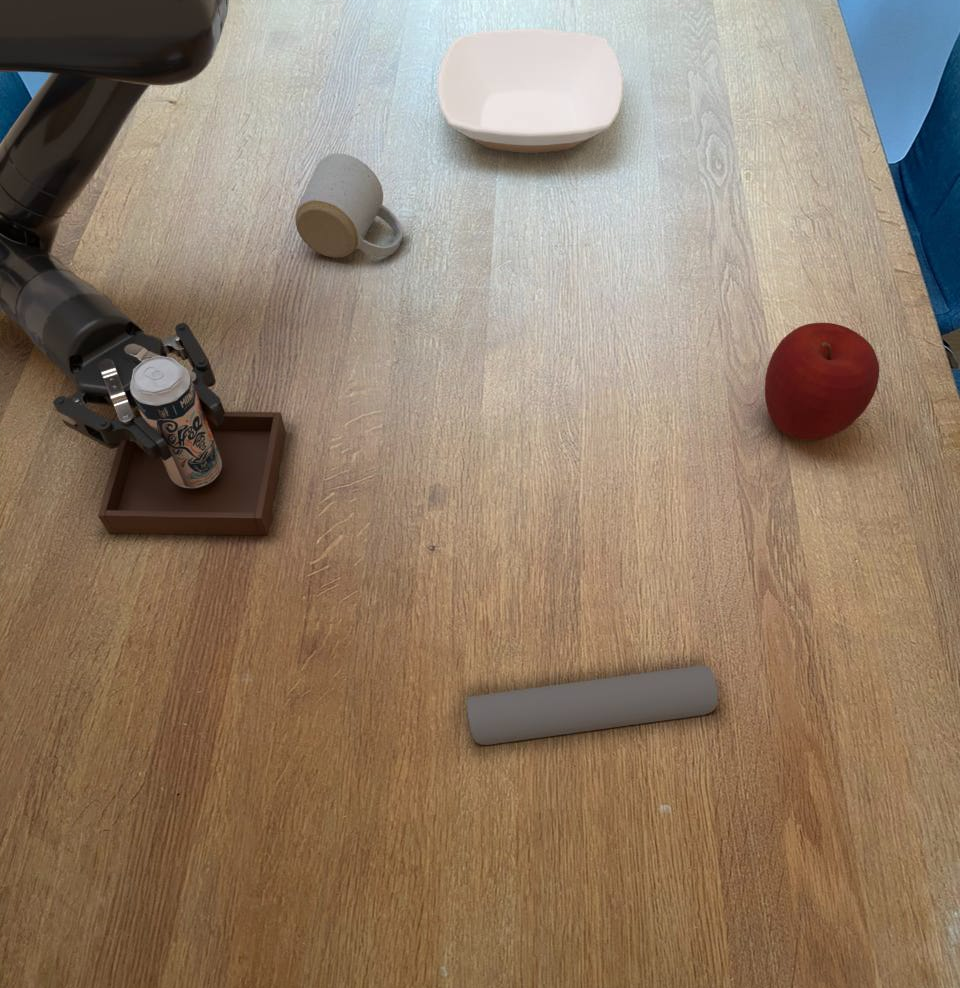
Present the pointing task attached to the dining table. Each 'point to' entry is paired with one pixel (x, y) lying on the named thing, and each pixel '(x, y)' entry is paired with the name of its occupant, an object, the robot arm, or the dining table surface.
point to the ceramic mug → (343, 209)
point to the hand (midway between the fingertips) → (192, 433)
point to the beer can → (176, 420)
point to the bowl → (530, 88)
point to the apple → (820, 380)
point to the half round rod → (591, 705)
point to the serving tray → (211, 508)
